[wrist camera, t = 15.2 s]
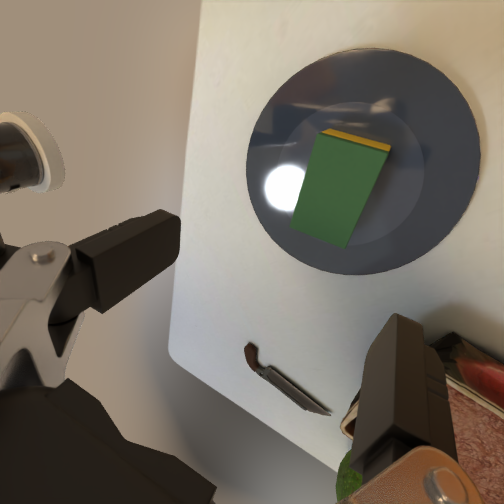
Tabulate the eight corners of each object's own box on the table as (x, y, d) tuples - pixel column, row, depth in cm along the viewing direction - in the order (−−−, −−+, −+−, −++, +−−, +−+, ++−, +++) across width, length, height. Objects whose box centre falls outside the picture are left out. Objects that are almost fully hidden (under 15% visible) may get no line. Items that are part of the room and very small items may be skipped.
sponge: (302, 212, 24) (288, 227, 21) (329, 128, 20) (317, 132, 18) (352, 231, 23) (344, 249, 20) (391, 145, 19) (388, 153, 16)
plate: (238, 228, 30) (232, 233, 29) (275, 30, 20) (268, 26, 19) (401, 297, 25) (400, 306, 24) (548, 81, 16) (557, 80, 15)
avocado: (427, 465, 33) (435, 613, 23) (377, 474, 38) (368, 600, 28) (373, 419, 33) (360, 546, 24) (331, 434, 38) (306, 544, 29)
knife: (238, 354, 39) (235, 358, 39) (249, 341, 37) (247, 344, 36) (320, 419, 38) (318, 424, 37) (337, 409, 35) (336, 414, 35)
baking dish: (440, 286, 25) (423, 360, 18) (663, 446, 20) (759, 633, 13) (349, 354, 34) (315, 420, 27) (487, 473, 30) (488, 590, 23)
